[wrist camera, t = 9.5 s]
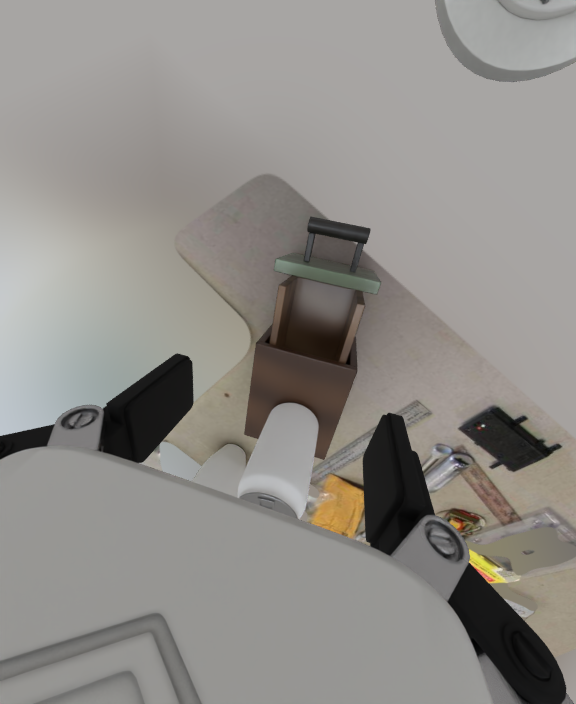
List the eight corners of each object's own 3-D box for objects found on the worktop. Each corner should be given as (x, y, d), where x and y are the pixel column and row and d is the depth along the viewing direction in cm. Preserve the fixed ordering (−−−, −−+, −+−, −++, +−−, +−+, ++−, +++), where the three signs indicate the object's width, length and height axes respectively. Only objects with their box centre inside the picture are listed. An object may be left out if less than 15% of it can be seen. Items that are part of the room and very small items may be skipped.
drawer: (298, 215, 29) (282, 210, 22) (386, 232, 28) (398, 233, 21) (275, 346, 37) (258, 372, 31) (343, 364, 36) (341, 395, 29)
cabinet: (277, 317, 36) (255, 343, 28) (355, 337, 35) (357, 370, 26) (264, 395, 43) (243, 434, 35) (329, 414, 42) (324, 460, 33)
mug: (207, 444, 52) (171, 498, 42) (235, 430, 48) (203, 485, 38) (242, 480, 55) (217, 539, 44) (271, 469, 51) (251, 531, 41)
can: (270, 435, 34) (233, 528, 23) (269, 396, 31) (226, 482, 20) (317, 444, 32) (301, 547, 22) (321, 404, 29) (305, 501, 19)
